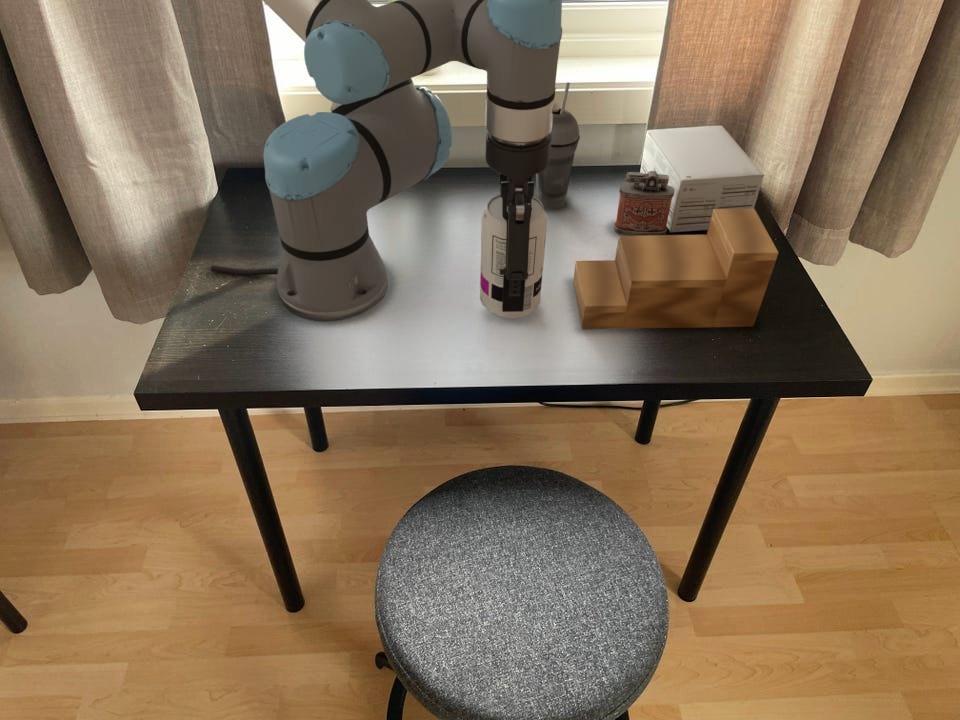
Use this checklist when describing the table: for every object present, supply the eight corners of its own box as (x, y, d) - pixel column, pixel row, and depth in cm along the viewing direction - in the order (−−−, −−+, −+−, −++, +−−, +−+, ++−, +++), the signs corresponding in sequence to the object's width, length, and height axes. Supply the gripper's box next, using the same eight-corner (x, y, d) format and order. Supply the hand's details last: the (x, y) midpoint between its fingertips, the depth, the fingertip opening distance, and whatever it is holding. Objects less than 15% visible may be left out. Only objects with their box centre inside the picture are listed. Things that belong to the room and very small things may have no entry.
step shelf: (581, 329, 98) (591, 255, 90) (572, 283, 105) (581, 210, 97) (753, 326, 99) (778, 252, 90) (732, 281, 106) (754, 208, 97)
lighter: (665, 226, 116) (676, 168, 109) (666, 238, 113) (679, 180, 107) (613, 223, 116) (621, 166, 110) (614, 235, 114) (622, 177, 107)
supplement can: (467, 301, 101) (468, 206, 91) (508, 275, 105) (513, 182, 95) (511, 329, 97) (516, 234, 87) (552, 301, 101) (562, 207, 91)
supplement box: (750, 228, 116) (766, 174, 109) (669, 234, 114) (681, 180, 108) (710, 174, 128) (723, 123, 121) (637, 179, 126) (646, 127, 120)
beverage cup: (539, 185, 125) (546, 67, 111) (579, 195, 122) (592, 76, 109) (521, 206, 120) (527, 86, 106) (563, 217, 118) (575, 95, 104)
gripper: (561, 179, 76) (545, 340, 92) (543, 91, 91) (532, 243, 107) (489, 179, 76) (485, 341, 92) (483, 91, 91) (480, 243, 107)
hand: (510, 288), depth 100 cm, fingers closed on supplement can, 8 cm apart
